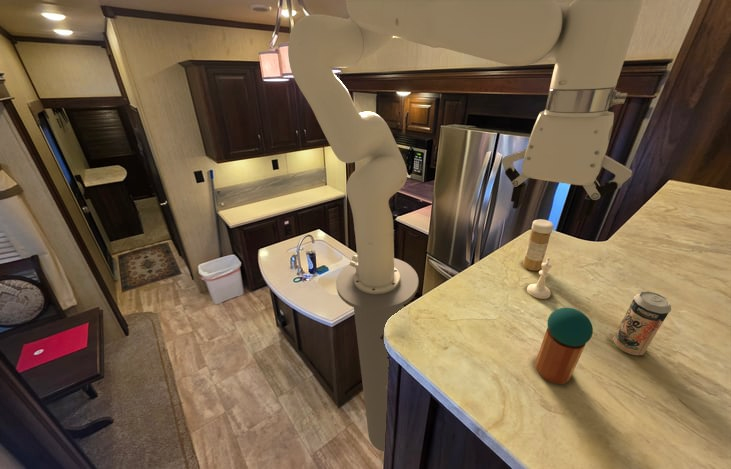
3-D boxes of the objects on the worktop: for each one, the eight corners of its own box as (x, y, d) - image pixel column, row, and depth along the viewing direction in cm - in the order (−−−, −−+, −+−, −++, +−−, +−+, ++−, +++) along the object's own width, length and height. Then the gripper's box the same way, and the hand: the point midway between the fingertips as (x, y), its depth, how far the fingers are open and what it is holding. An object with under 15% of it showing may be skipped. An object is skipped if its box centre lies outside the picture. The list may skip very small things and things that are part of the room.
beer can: (605, 340, 56) (629, 294, 51) (623, 333, 58) (648, 286, 52) (632, 360, 52) (661, 312, 47) (650, 352, 54) (681, 304, 48)
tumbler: (531, 372, 52) (543, 337, 47) (539, 352, 55) (551, 318, 51) (566, 390, 49) (582, 354, 44) (572, 367, 52) (588, 332, 48)
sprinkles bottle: (529, 259, 81) (540, 217, 74) (545, 268, 77) (558, 223, 71) (518, 265, 79) (529, 221, 73) (533, 273, 76) (546, 228, 69)
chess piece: (550, 288, 70) (560, 254, 66) (550, 301, 67) (562, 266, 62) (527, 283, 73) (536, 250, 68) (526, 295, 69) (536, 261, 64)
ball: (539, 342, 48) (548, 315, 45) (548, 320, 52) (556, 295, 49) (583, 361, 44) (595, 334, 41) (589, 336, 48) (600, 309, 45)
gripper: (660, 99, 38) (613, 216, 46) (519, 99, 48) (502, 195, 56) (660, 106, 33) (608, 235, 41) (504, 105, 43) (488, 208, 52)
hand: (547, 212), depth 49 cm, fingers open, 9 cm apart
